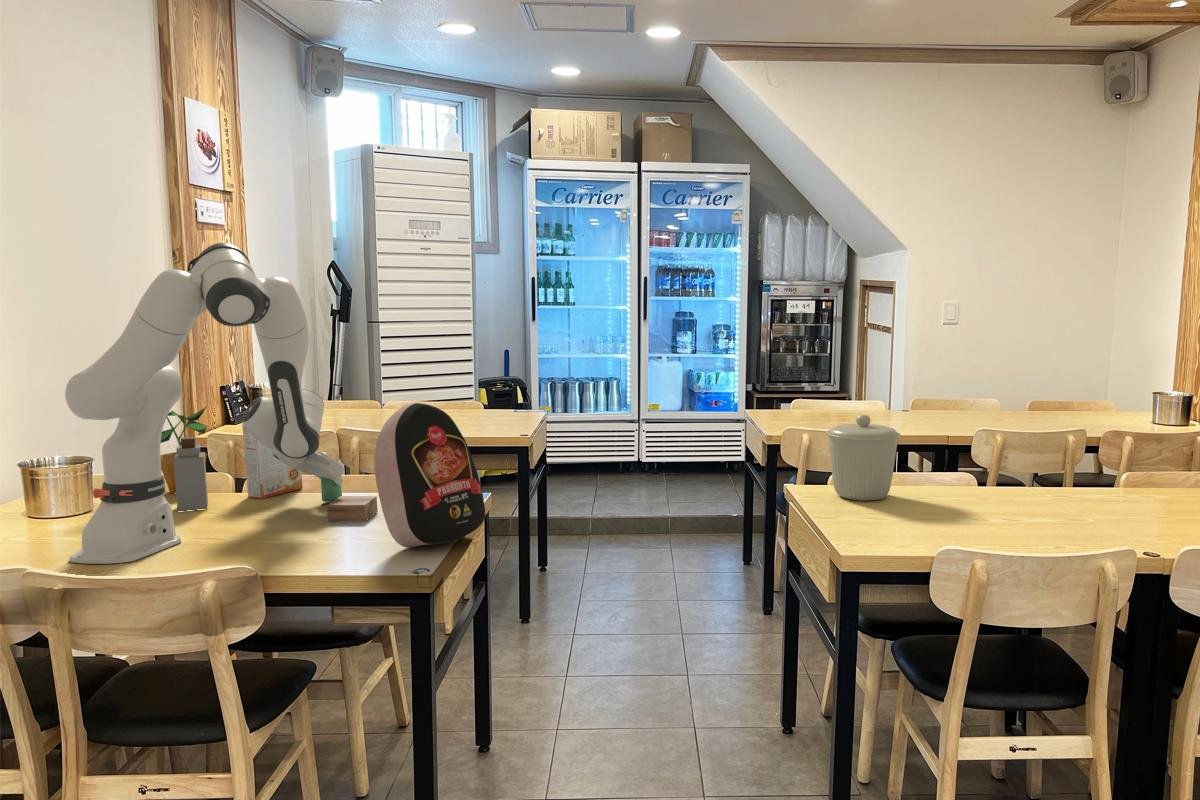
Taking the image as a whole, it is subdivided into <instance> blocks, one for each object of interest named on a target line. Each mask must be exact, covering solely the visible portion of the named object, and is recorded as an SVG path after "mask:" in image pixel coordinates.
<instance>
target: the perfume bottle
mask: <svg viewBox="0 0 1200 800" xmlns="http://www.w3.org/2000/svg"><path fill="white" fill-rule="evenodd" d="M180 442H181V445H182V446H179V445H177V447H176V451H175V452H177V455H175V457H174V470H175V484H176V494H175V495H176V507H177V512H178V511H187V510H197V509H207V510H208V508H207V507H209V498H208V485H207V471H206V469H207V468H206V462H205V453H206V452H205V451H202V452H203V453H200V451H201V446H202V444H196V436H185V437H182V436H181V438H180ZM204 452H205V453H204Z"/></svg>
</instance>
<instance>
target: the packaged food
mask: <svg viewBox="0 0 1200 800" xmlns="http://www.w3.org/2000/svg"><path fill="white" fill-rule="evenodd" d="M373 460H374V462H373V465H374V475H375V482H376V488H377V492H378V493H377V495H378V498H379V502H380V506H381V511H382V514H383V517H384V520H385V524H386V526H387V529H388V532H389V533H390V536H391V537H392V539H393V540H394V541H395V542H396V543H397V544H398V545H399V546H401V547H403V548H414V547H420V546H428V545H440V544H445V543H448V542H453V541H457V540H460V539H462V538H465V537H466V536H468V535H470V534H472V533H474V532H475V531H476V530H477V529H479V527H480V526H481V525H482V524H483V523H484V521H485V518H486V505H485V500H484V494H483V490H482V485H481V481H480V477H479V474H478V471H477V467H476V464H475V461H474V460H473V457H472V454H471V451H470V449H469V446H468V444H467V441H466V439H465V437H464V436H463V434H462V432H461V431H460V428H459V427H458V425H457V423H456V422H455V421H454V419H453V418H452V417H451V416H450V415H449V414H448V413H446V412H445V411H444V410H442V409H440V408H439V407H436V406H433V405H431V404H426V403H421V402H412V403H407V404H405V405H403V406H401V408H399V409H398V410H395V412H393V414H391V415H390V417H389V418H388V419H387V420H386V421H385V423H384V424H383V425H382V427H381V430H380V431H379V433H378V436H377V439H376V444H375V449H374V458H373Z"/></svg>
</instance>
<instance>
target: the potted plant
mask: <svg viewBox="0 0 1200 800" xmlns="http://www.w3.org/2000/svg"><path fill="white" fill-rule="evenodd" d="M207 407H208V405H207V406H205V407H203V408H202V409H200V410H199V411H197V412H196V413H194V414H192V415H191V414H190V415H188V416H186V417H185V415H183V414H179V413H177V412H176V411H174V410H172V409H171V410H170V411H169V413H168V415H167V418H166V420H167V422H168V423H169V426H170V429H169V428H168V429H167V430H162V434H161V441H160V444H162V443H165V442H168V441H170V440H171V438H172V437H171V436H172V435H173V434H174V436H175V437H176V440H177V443H178V446H182V445H181V438H182V436H183V435H184V432H185V430H186V429H187V428H188V429H190V430H194V431H195V432H198V433H201V434H202V435H205V433H206V430H207V429H208V425H206V424H203V423H200V422H198V421H199V419H200V417H201V416H202V415H203V413H204V412H205V411H206V409H207ZM168 416H169V417H170V416H172V417H174V416H175V417H178V418H179V420H180V421H179V422H178V423H177V424H176V425H175V426H173V424H172V422H171V420H170V418H169V417H168ZM186 420H187V422H186ZM181 422H182V423H183V424H184V428H183V429H182V431H181V432H180V435H179V436H178V434H177V432H176V428H177V427H178V426H179V425H180V423H181ZM203 452H204V453H205V463H206V462H207V458H208V457H207V456H208V453H207V452H206V451H201V450H200V453H203ZM175 455H177V451H175V452H169V453H164V454H160V457H161V474H162V476H163V477H164V482H165V484H166V485H167V488H168V490H169V494H172V493H173V495H175V494H174V493H176V484H175V470H174V457H175Z"/></svg>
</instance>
